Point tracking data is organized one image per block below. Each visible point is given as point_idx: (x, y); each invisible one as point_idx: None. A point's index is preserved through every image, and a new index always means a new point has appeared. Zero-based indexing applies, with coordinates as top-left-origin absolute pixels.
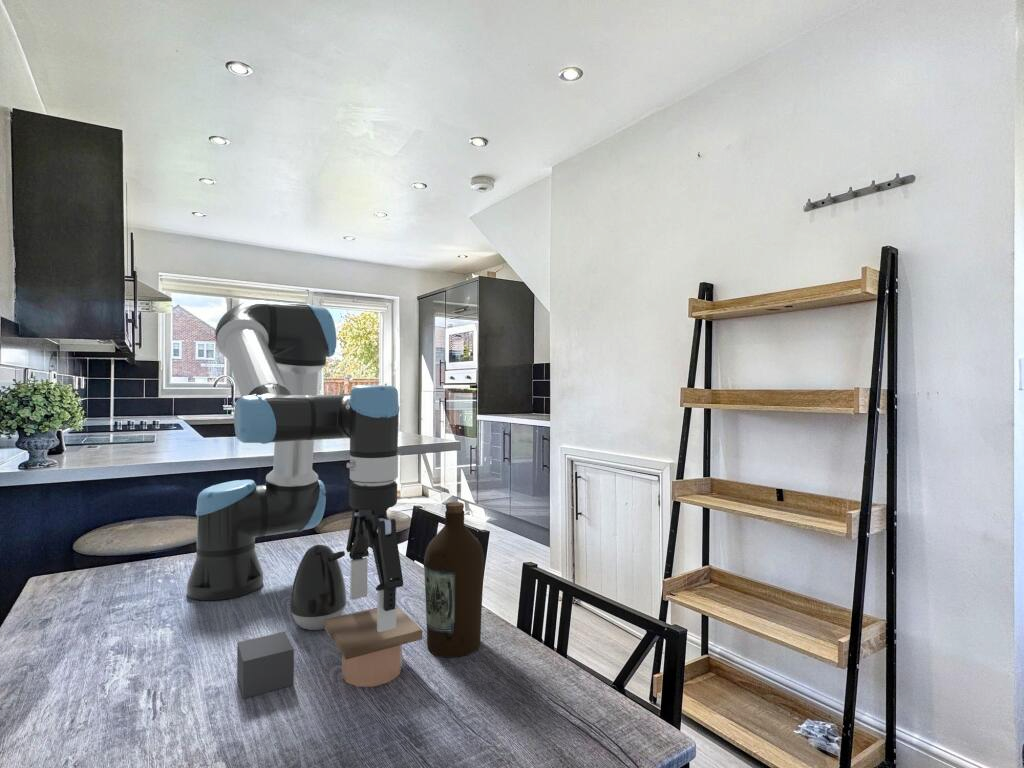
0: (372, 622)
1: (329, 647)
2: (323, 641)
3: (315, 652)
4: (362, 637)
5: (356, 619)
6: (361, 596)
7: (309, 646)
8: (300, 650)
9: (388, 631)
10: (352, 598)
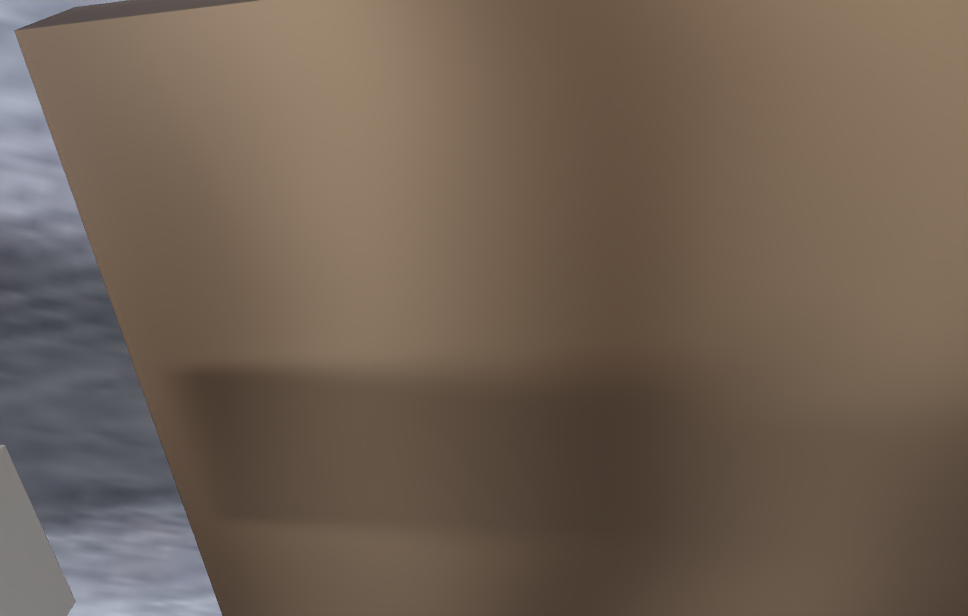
0: (509, 406)
1: (111, 388)
2: (13, 404)
3: (160, 467)
4: (815, 557)
5: (362, 513)
6: (26, 517)
7: (68, 482)
8: (110, 529)
9: (838, 317)
10: (65, 602)
